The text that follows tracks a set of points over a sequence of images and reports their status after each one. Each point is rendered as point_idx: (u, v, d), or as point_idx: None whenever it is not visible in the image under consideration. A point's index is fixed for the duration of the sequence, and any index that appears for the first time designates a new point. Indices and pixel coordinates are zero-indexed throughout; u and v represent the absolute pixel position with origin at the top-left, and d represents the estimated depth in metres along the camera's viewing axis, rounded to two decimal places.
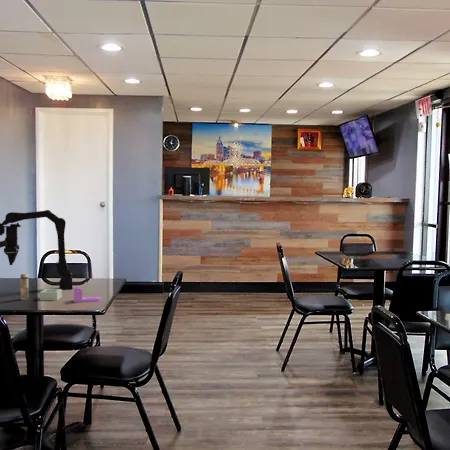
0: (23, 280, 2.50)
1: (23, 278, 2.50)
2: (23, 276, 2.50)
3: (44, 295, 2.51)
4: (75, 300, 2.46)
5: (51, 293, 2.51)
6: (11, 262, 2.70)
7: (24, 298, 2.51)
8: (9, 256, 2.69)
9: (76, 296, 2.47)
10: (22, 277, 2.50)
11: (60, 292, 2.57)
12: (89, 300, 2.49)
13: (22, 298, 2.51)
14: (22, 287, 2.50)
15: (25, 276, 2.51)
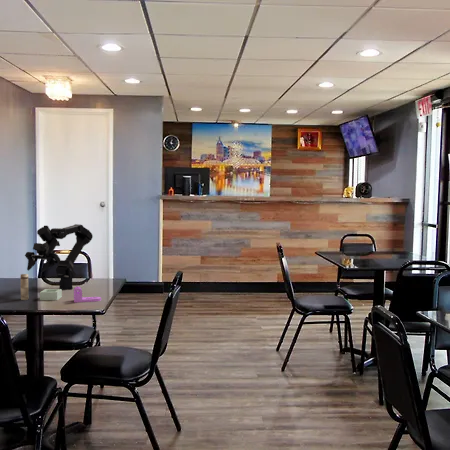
0: (23, 280, 2.50)
1: (23, 278, 2.50)
2: (23, 276, 2.50)
3: (44, 295, 2.51)
4: (75, 300, 2.47)
5: (51, 293, 2.51)
6: (45, 269, 2.59)
7: (24, 298, 2.51)
8: (48, 263, 2.60)
9: (76, 296, 2.47)
10: (22, 277, 2.50)
11: (60, 292, 2.57)
12: (89, 300, 2.49)
13: (22, 298, 2.51)
14: (22, 287, 2.50)
15: (25, 276, 2.51)
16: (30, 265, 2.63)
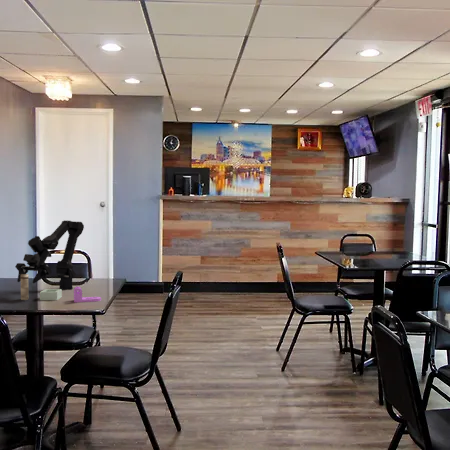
0: (23, 280, 2.50)
1: (23, 278, 2.50)
2: (23, 276, 2.50)
3: (44, 295, 2.51)
4: (75, 300, 2.47)
5: (51, 293, 2.51)
6: (35, 281, 2.52)
7: (24, 298, 2.51)
8: (39, 274, 2.54)
9: (76, 296, 2.47)
10: (22, 277, 2.50)
11: (60, 292, 2.57)
12: (89, 300, 2.49)
13: (22, 298, 2.51)
14: (22, 287, 2.50)
15: (25, 276, 2.51)
16: (20, 277, 2.56)
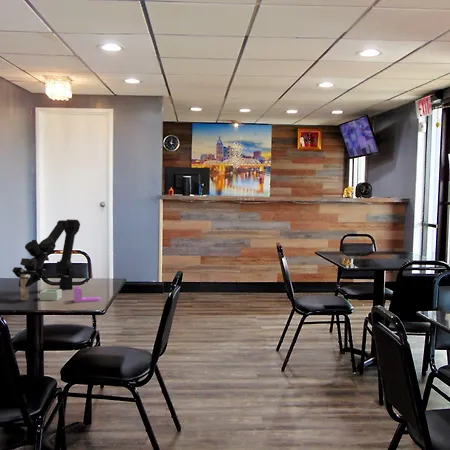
0: (23, 280, 2.50)
1: (23, 278, 2.50)
2: (23, 276, 2.50)
3: (44, 295, 2.51)
4: (75, 300, 2.47)
5: (51, 293, 2.51)
6: (28, 285, 2.51)
7: (24, 298, 2.51)
8: (32, 278, 2.52)
9: (76, 296, 2.47)
10: (22, 277, 2.50)
11: (60, 292, 2.57)
12: (89, 300, 2.49)
13: (22, 298, 2.51)
14: (22, 287, 2.50)
15: (25, 276, 2.50)
16: None
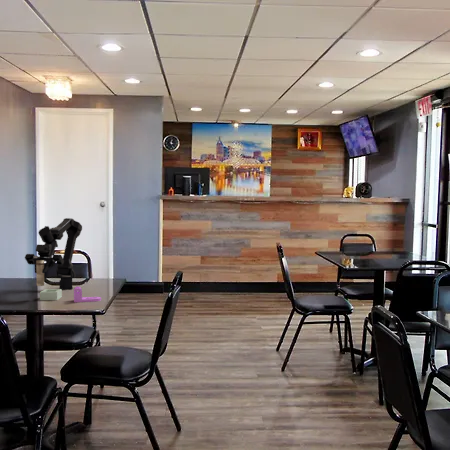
0: (39, 267, 2.51)
1: (40, 264, 2.51)
2: (40, 262, 2.51)
3: (44, 295, 2.51)
4: (75, 300, 2.47)
5: (51, 293, 2.51)
6: (45, 270, 2.53)
7: (40, 284, 2.52)
8: (48, 264, 2.54)
9: (76, 296, 2.47)
10: (39, 263, 2.51)
11: (60, 292, 2.57)
12: (89, 300, 2.49)
13: (39, 284, 2.52)
14: (39, 273, 2.51)
15: (42, 262, 2.52)
16: None
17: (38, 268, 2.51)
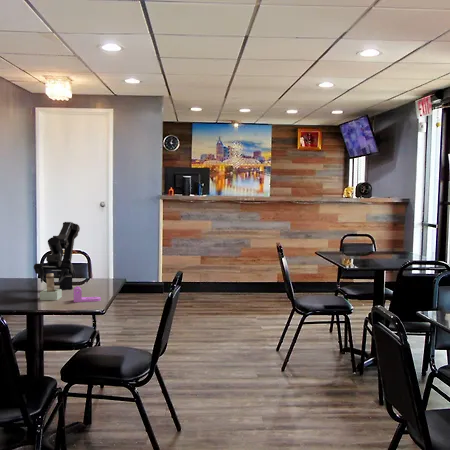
0: (50, 280, 2.53)
1: (50, 277, 2.53)
2: (50, 275, 2.53)
3: (44, 295, 2.51)
4: (74, 300, 2.47)
5: (51, 293, 2.51)
6: (60, 280, 2.55)
7: None
8: (63, 273, 2.57)
9: (76, 296, 2.47)
10: (49, 276, 2.53)
11: (60, 292, 2.57)
12: (88, 300, 2.49)
13: None
14: (49, 286, 2.53)
15: (52, 275, 2.54)
16: (42, 277, 2.55)
17: (49, 281, 2.53)
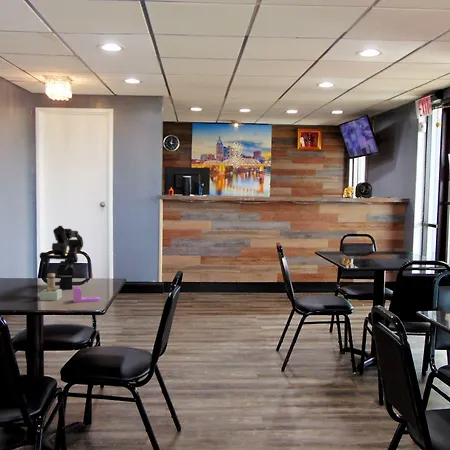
0: (51, 280, 2.53)
1: (51, 277, 2.53)
2: (51, 275, 2.53)
3: (44, 295, 2.51)
4: (74, 300, 2.47)
5: (51, 293, 2.51)
6: (66, 268, 2.64)
7: None
8: (68, 262, 2.66)
9: (76, 296, 2.47)
10: (50, 276, 2.53)
11: (60, 292, 2.57)
12: (88, 300, 2.49)
13: None
14: (50, 286, 2.53)
15: (53, 275, 2.54)
16: (47, 265, 2.64)
17: (50, 281, 2.53)
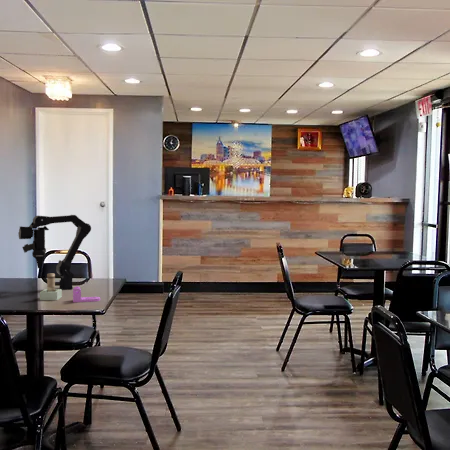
0: (51, 280, 2.53)
1: (51, 277, 2.53)
2: (51, 275, 2.53)
3: (44, 295, 2.51)
4: (74, 300, 2.47)
5: (51, 293, 2.51)
6: (39, 265, 2.71)
7: None
8: (37, 259, 2.70)
9: (75, 296, 2.47)
10: (50, 276, 2.53)
11: (60, 292, 2.57)
12: (88, 300, 2.49)
13: None
14: (50, 286, 2.53)
15: (53, 275, 2.54)
16: None
17: (49, 281, 2.53)
